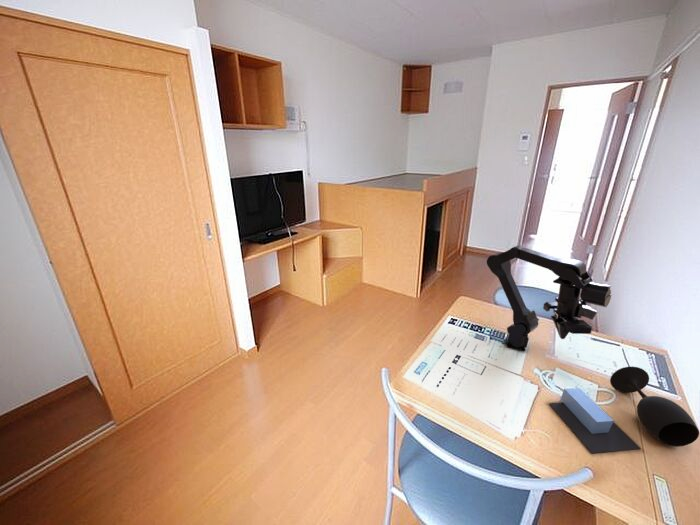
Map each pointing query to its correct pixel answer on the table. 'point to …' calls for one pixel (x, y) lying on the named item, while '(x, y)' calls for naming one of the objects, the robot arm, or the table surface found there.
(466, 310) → the table surface
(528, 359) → the table surface
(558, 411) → the rubber mat
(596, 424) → the blue block
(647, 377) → the wine glass
